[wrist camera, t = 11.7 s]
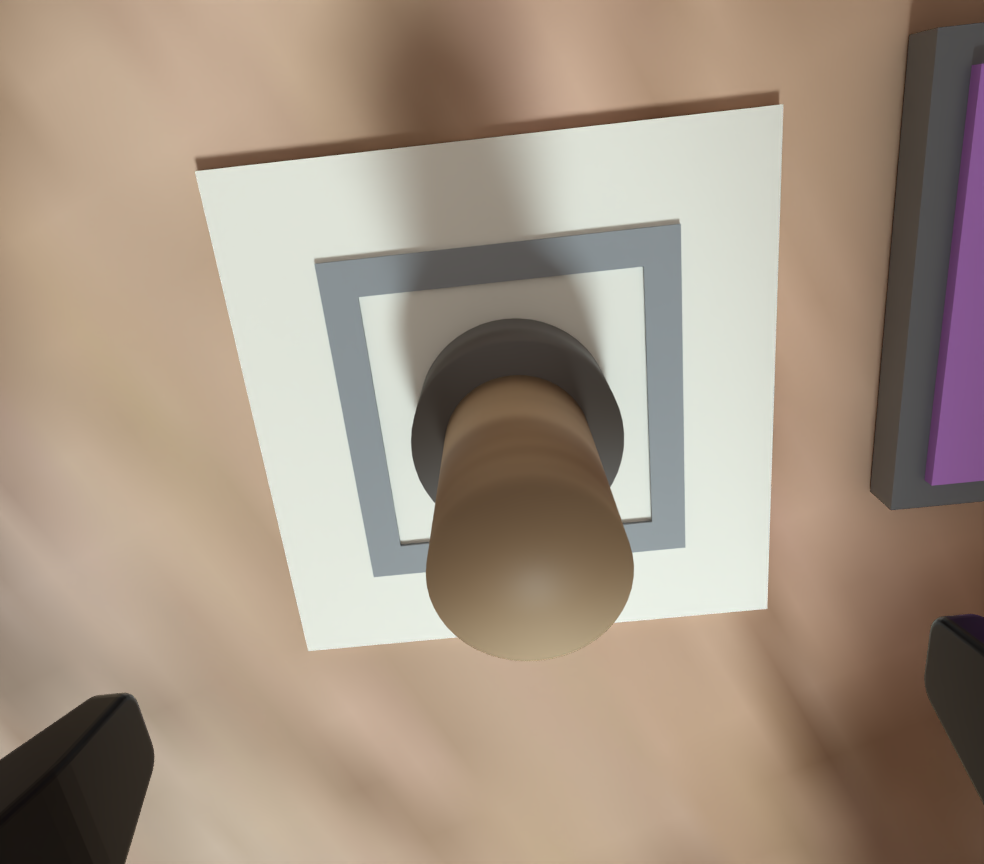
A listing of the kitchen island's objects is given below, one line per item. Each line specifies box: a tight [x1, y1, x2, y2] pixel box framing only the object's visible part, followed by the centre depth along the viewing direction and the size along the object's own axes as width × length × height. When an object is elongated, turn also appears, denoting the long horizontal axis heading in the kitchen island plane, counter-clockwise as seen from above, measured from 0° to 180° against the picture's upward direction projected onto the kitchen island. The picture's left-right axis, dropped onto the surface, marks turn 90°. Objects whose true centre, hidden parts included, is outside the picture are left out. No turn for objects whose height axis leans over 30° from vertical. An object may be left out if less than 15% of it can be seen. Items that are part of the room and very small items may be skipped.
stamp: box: [411, 318, 634, 661], centre depth 14 cm, size 4×4×7 cm
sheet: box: [195, 104, 783, 651], centre depth 17 cm, size 12×12×1 cm
